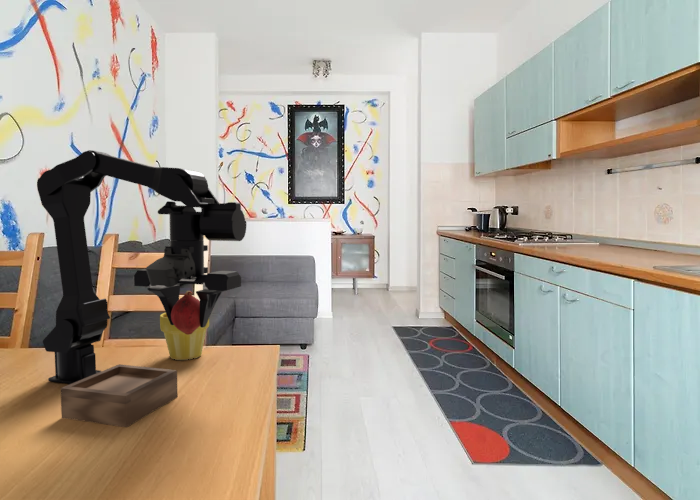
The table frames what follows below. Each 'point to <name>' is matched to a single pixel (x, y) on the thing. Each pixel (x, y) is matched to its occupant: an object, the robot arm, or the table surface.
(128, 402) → the walnut base
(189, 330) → the onion
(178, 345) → the plant pot
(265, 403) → the table surface
